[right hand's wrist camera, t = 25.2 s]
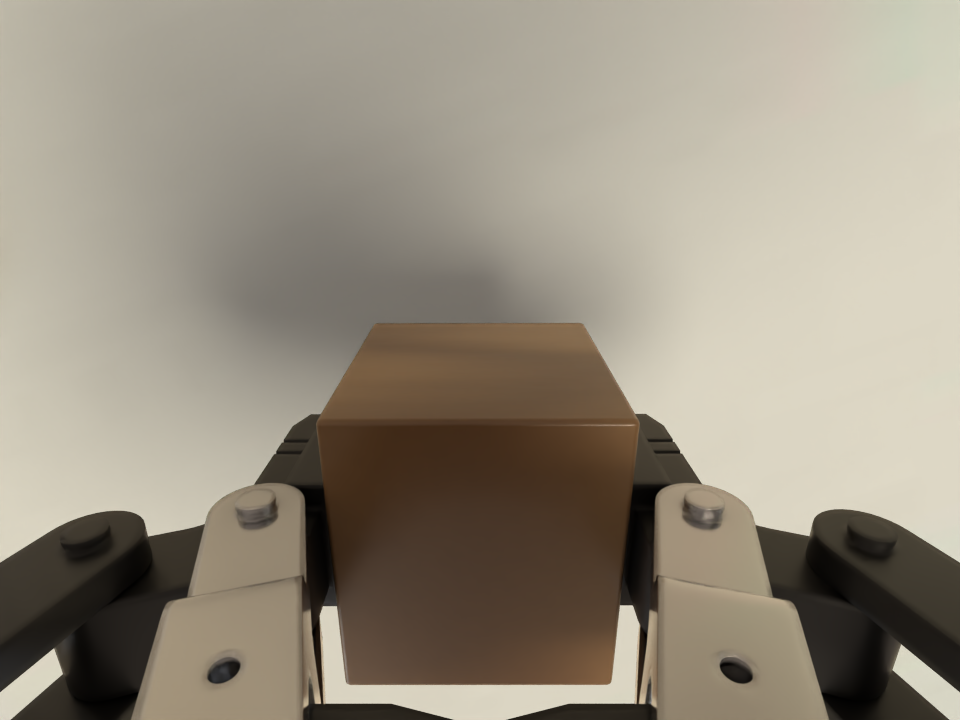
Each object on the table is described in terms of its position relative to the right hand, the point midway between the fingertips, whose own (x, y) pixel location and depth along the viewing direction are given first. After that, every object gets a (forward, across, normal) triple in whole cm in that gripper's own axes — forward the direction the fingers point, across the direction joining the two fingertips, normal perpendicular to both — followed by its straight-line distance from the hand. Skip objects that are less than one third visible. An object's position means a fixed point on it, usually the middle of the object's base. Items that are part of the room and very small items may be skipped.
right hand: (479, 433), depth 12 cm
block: (0, 0, 0) cm, 0 cm away
